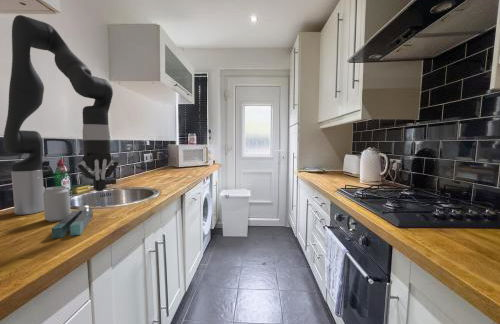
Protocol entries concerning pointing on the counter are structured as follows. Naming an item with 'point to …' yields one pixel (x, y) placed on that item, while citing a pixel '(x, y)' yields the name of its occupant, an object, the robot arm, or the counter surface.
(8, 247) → the counter surface
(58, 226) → the tong base
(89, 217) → the tong arm
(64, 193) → the can
